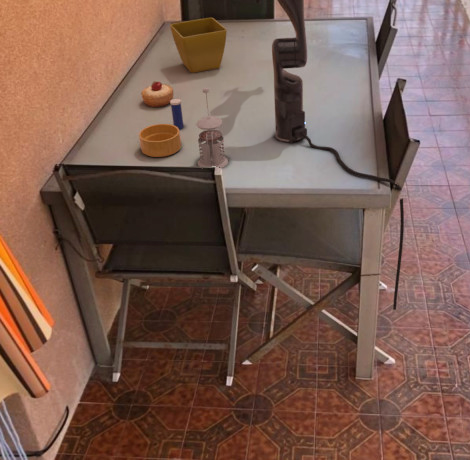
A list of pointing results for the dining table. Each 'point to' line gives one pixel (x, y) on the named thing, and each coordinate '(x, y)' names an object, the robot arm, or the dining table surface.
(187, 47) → the flower pot
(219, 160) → the french press
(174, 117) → the vial
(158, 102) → the pastry
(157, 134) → the bowl
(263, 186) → the dining table surface
